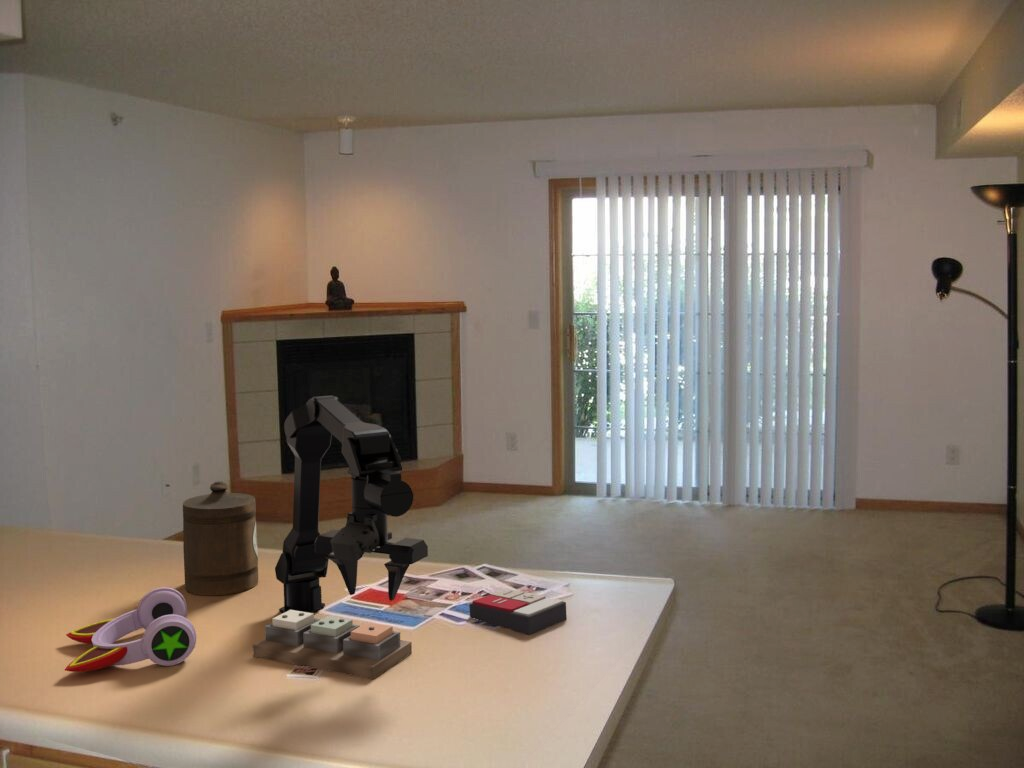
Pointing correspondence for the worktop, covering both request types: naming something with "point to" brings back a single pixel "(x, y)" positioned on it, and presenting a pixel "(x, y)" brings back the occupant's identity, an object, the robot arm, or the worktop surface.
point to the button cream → (293, 619)
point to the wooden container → (220, 542)
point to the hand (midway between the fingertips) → (371, 597)
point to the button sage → (331, 626)
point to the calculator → (519, 611)
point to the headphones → (161, 642)
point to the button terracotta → (372, 633)
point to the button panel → (332, 650)
